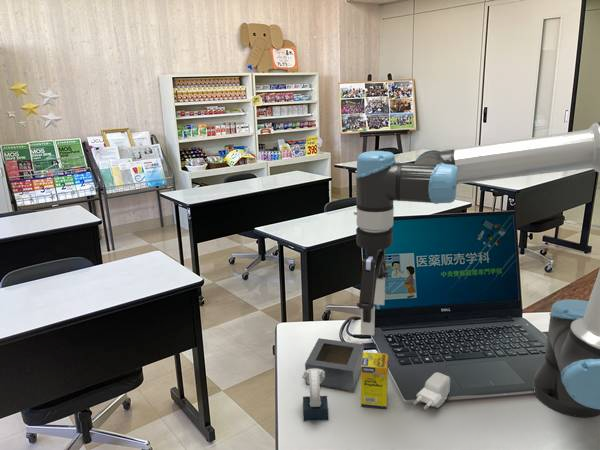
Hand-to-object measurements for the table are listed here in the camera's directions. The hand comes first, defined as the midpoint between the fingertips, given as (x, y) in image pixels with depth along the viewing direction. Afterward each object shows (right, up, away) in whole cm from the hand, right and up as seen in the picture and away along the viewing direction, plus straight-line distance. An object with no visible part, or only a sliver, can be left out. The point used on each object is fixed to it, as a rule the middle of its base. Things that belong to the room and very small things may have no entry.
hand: (373, 318), depth 105 cm
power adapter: (+14, -21, +3) cm, 25 cm away
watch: (-13, -22, +3) cm, 26 cm away
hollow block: (-7, -17, +16) cm, 25 cm away
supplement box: (+1, -21, +6) cm, 22 cm away
